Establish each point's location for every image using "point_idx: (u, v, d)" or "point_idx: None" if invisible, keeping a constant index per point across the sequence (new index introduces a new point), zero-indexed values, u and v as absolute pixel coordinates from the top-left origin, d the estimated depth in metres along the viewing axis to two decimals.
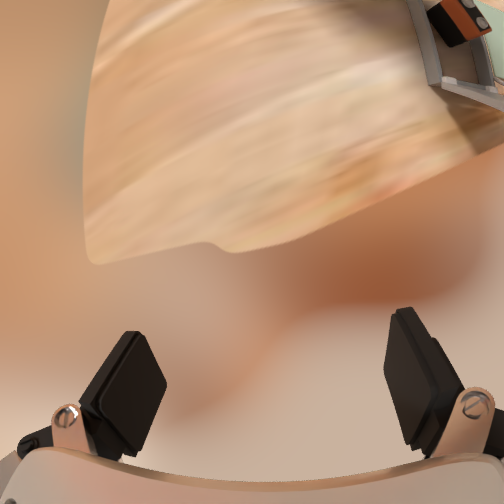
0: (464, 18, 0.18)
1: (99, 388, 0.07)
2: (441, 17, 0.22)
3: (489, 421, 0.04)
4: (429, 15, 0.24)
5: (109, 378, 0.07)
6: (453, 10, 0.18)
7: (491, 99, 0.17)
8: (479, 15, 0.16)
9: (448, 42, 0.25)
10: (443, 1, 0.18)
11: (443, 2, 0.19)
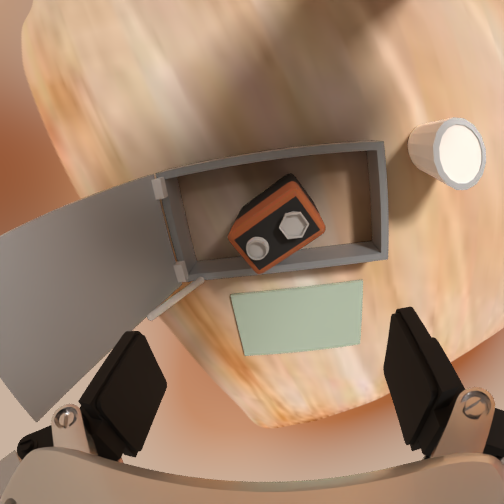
0: (256, 212, 0.22)
1: (100, 388, 0.07)
2: (274, 188, 0.26)
3: (490, 421, 0.04)
4: (284, 177, 0.28)
5: (109, 378, 0.07)
6: (273, 196, 0.22)
7: (60, 208, 0.17)
8: (275, 248, 0.22)
9: (245, 206, 0.29)
10: (292, 183, 0.22)
11: (290, 183, 0.23)
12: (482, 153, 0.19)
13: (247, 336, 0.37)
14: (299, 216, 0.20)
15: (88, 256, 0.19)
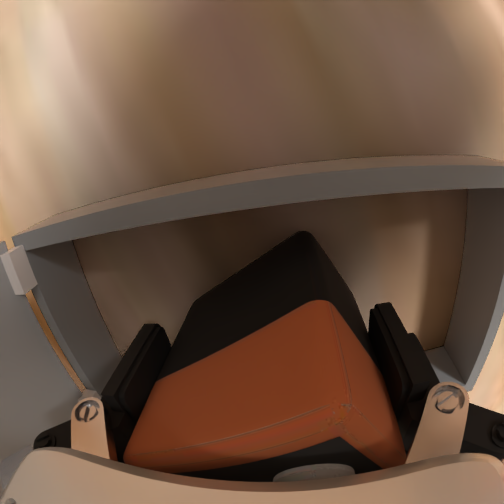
0: (187, 432, 0.05)
1: (122, 379, 0.07)
2: (260, 292, 0.09)
3: (465, 414, 0.04)
4: (290, 244, 0.11)
5: (131, 370, 0.08)
6: (250, 375, 0.06)
7: None
8: None
9: (197, 304, 0.13)
10: (320, 324, 0.06)
11: (313, 322, 0.06)
12: None
13: None
14: None
15: None
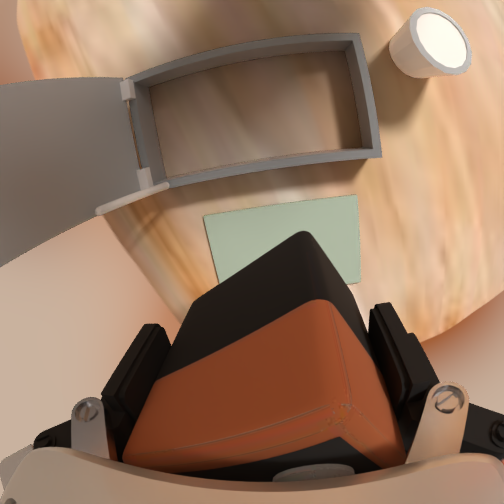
0: (186, 431, 0.05)
1: (122, 379, 0.07)
2: (259, 291, 0.09)
3: (465, 414, 0.04)
4: (290, 243, 0.11)
5: (131, 370, 0.08)
6: (249, 374, 0.06)
7: (22, 83, 0.12)
8: None
9: (197, 304, 0.13)
10: (320, 324, 0.06)
11: (313, 322, 0.06)
12: (466, 43, 0.14)
13: (224, 270, 0.32)
14: None
15: (39, 130, 0.14)
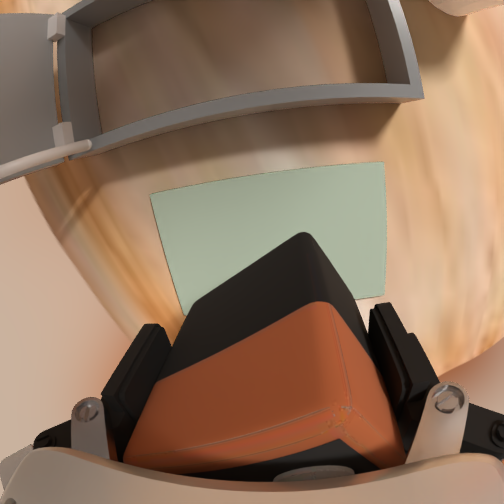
0: (187, 433, 0.05)
1: (122, 379, 0.07)
2: (260, 293, 0.09)
3: (465, 414, 0.04)
4: (290, 244, 0.11)
5: (131, 370, 0.08)
6: (250, 376, 0.06)
7: None
8: None
9: (197, 305, 0.13)
10: (321, 326, 0.06)
11: (314, 324, 0.06)
12: None
13: (183, 275, 0.21)
14: None
15: None
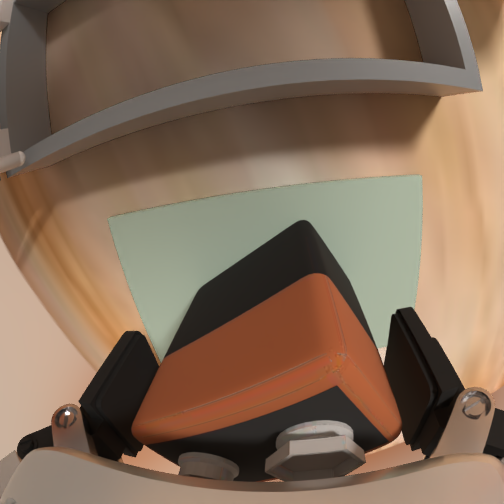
0: (195, 394, 0.06)
1: (99, 387, 0.07)
2: (262, 272, 0.10)
3: (489, 422, 0.04)
4: (290, 231, 0.12)
5: (109, 378, 0.07)
6: (254, 338, 0.07)
7: None
8: (257, 471, 0.06)
9: (202, 290, 0.13)
10: (318, 292, 0.07)
11: (312, 290, 0.07)
12: None
13: (155, 319, 0.16)
14: (339, 444, 0.05)
15: None
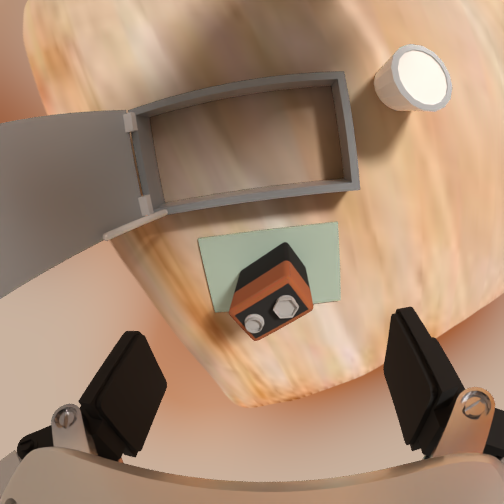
0: (253, 292, 0.25)
1: (99, 387, 0.07)
2: (270, 261, 0.29)
3: (489, 422, 0.04)
4: (280, 247, 0.31)
5: (109, 378, 0.07)
6: (269, 277, 0.26)
7: (35, 118, 0.15)
8: (269, 323, 0.25)
9: (243, 270, 0.33)
10: (285, 265, 0.26)
11: (284, 264, 0.26)
12: (447, 78, 0.18)
13: (216, 287, 0.35)
14: (291, 301, 0.24)
15: (52, 164, 0.18)
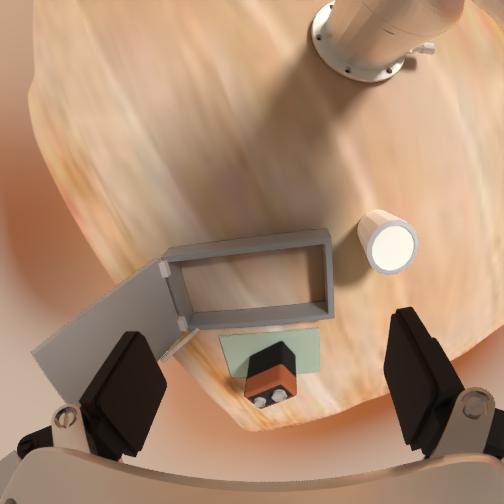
0: (259, 386, 0.37)
1: (99, 388, 0.07)
2: (270, 359, 0.41)
3: (489, 422, 0.04)
4: (277, 345, 0.43)
5: (109, 378, 0.07)
6: (269, 376, 0.38)
7: (100, 301, 0.27)
8: (269, 401, 0.38)
9: (252, 357, 0.45)
10: (280, 369, 0.38)
11: (279, 368, 0.38)
12: (415, 244, 0.29)
13: (232, 364, 0.47)
14: (282, 393, 0.36)
15: (121, 327, 0.30)
